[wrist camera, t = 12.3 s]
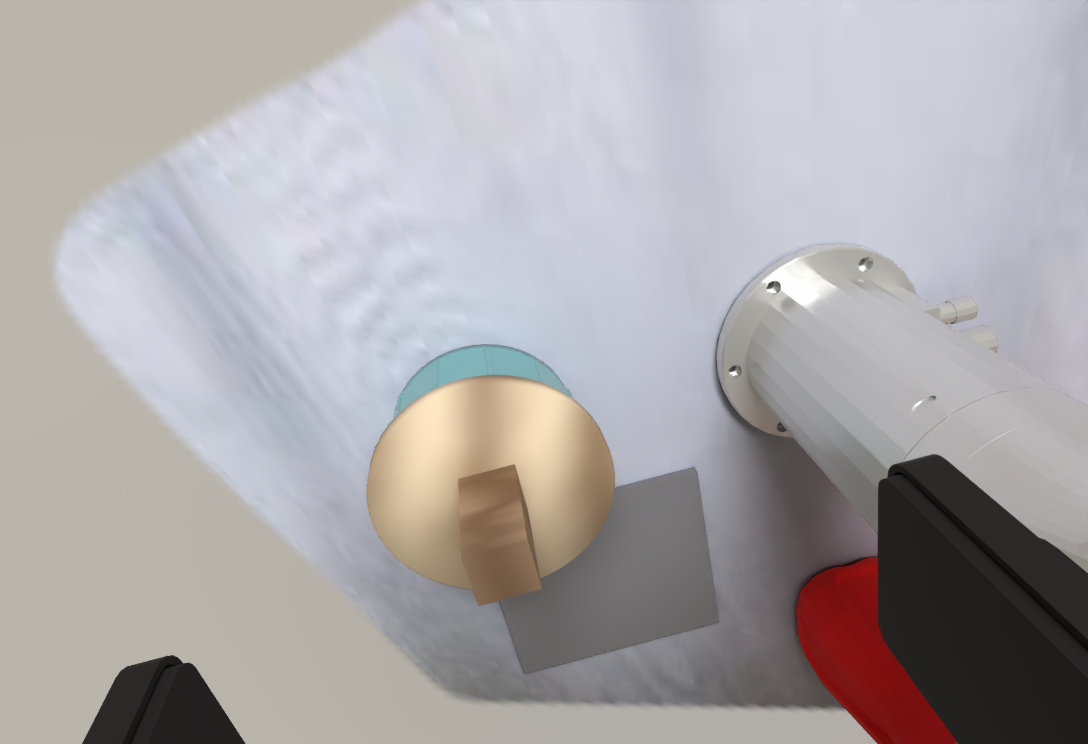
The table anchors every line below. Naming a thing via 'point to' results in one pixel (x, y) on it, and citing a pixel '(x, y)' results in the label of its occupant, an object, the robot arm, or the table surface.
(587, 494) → the lid
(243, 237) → the table surface
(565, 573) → the mat
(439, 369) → the bowl
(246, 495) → the table surface
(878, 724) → the water bottle
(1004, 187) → the table surface
